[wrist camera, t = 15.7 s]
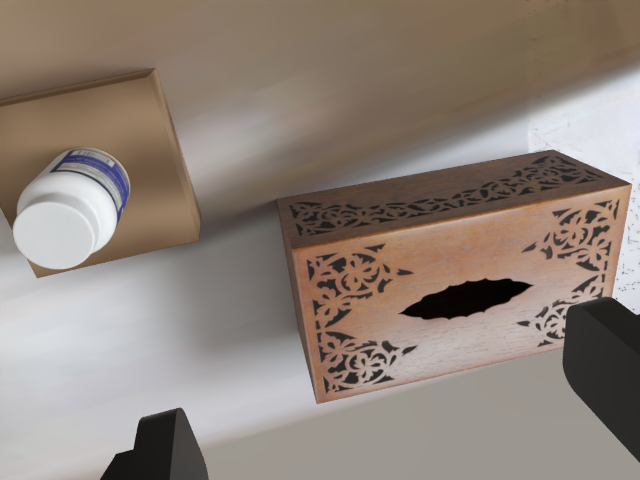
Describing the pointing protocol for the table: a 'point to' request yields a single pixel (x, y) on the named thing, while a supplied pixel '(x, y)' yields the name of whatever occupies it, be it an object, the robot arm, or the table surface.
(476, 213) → the tissue box cover
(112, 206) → the pill bottle
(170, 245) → the walnut block
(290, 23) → the table surface
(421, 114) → the table surface
